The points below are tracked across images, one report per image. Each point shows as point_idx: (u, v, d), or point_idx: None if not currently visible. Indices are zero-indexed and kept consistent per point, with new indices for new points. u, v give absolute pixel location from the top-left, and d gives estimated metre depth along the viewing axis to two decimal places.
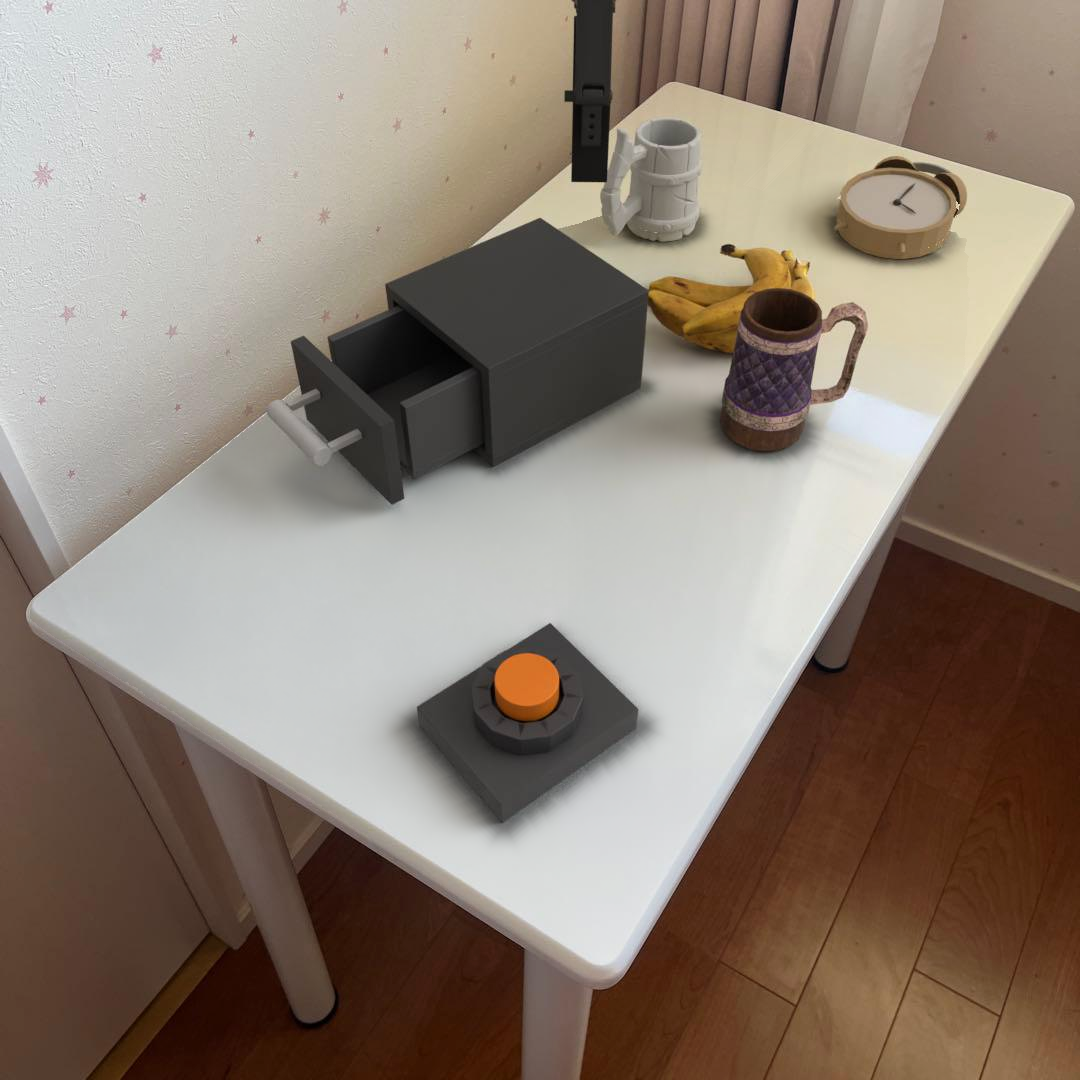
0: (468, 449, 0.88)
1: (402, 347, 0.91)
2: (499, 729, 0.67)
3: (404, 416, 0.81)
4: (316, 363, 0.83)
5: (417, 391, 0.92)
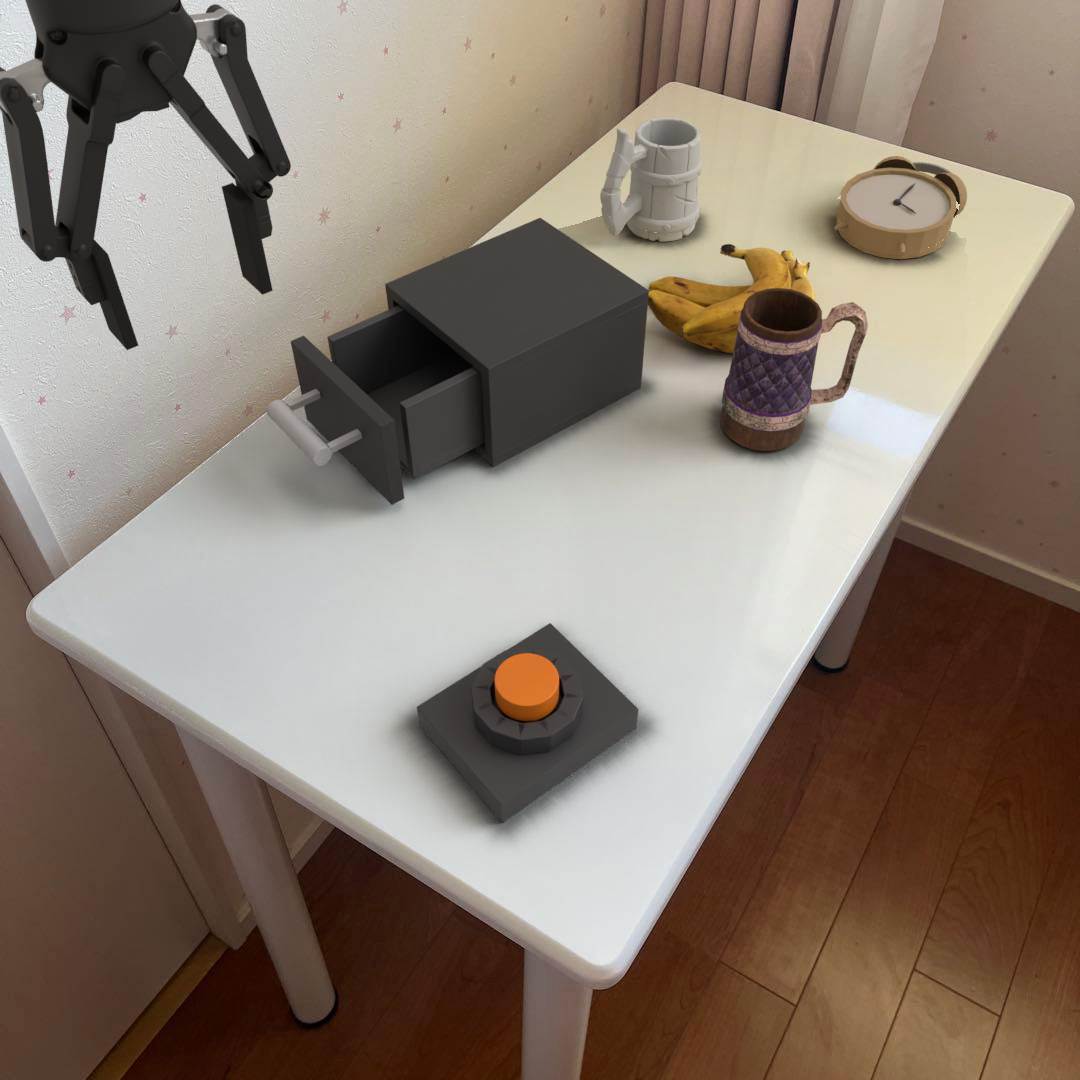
0: (468, 449, 0.88)
1: (402, 347, 0.91)
2: (499, 729, 0.67)
3: (404, 416, 0.81)
4: (316, 363, 0.83)
5: (417, 391, 0.92)
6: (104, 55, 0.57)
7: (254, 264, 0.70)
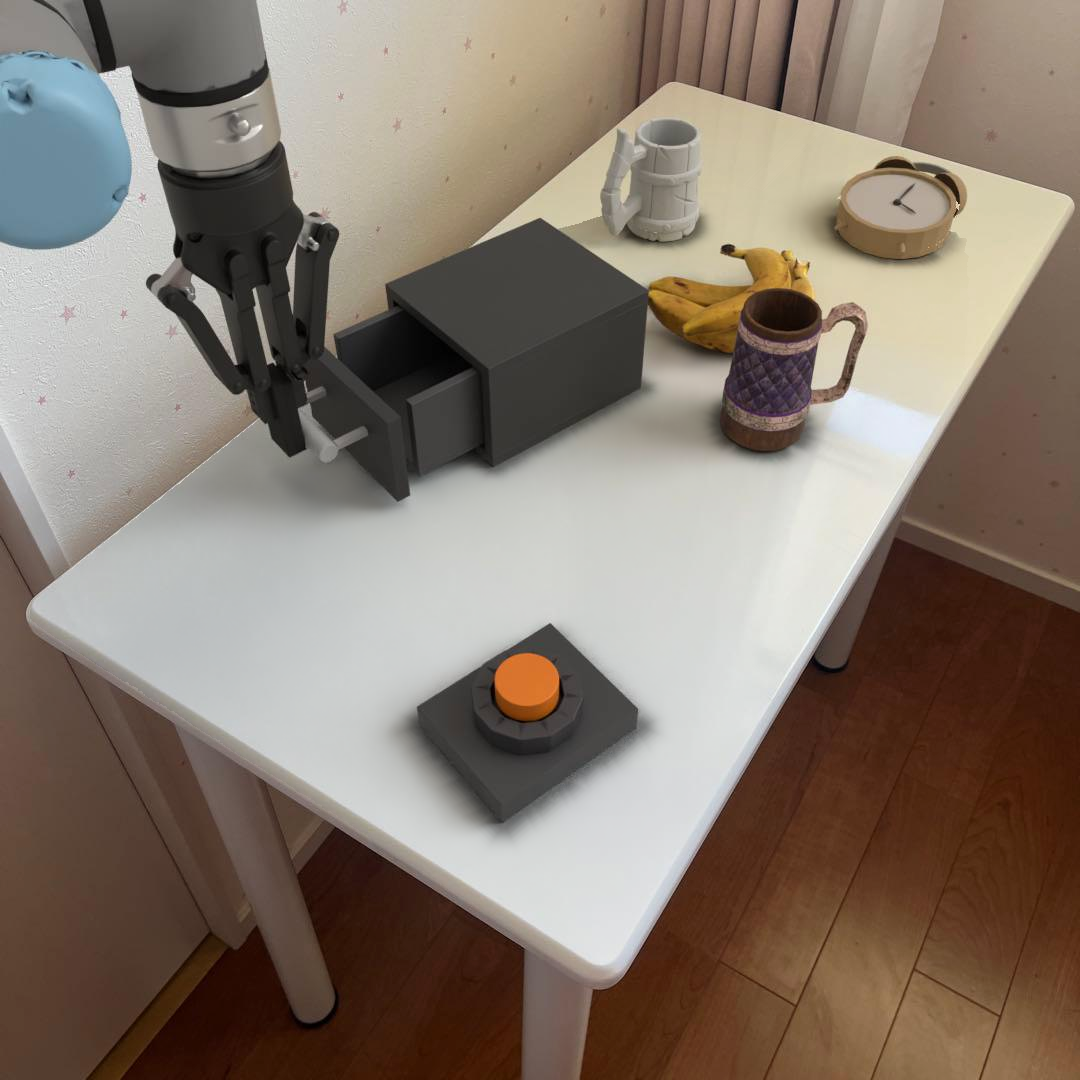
0: (473, 446, 0.88)
1: (408, 345, 0.91)
2: (499, 729, 0.67)
3: (410, 413, 0.81)
4: (322, 360, 0.84)
5: (422, 388, 0.92)
6: (230, 246, 0.68)
7: (291, 430, 0.80)
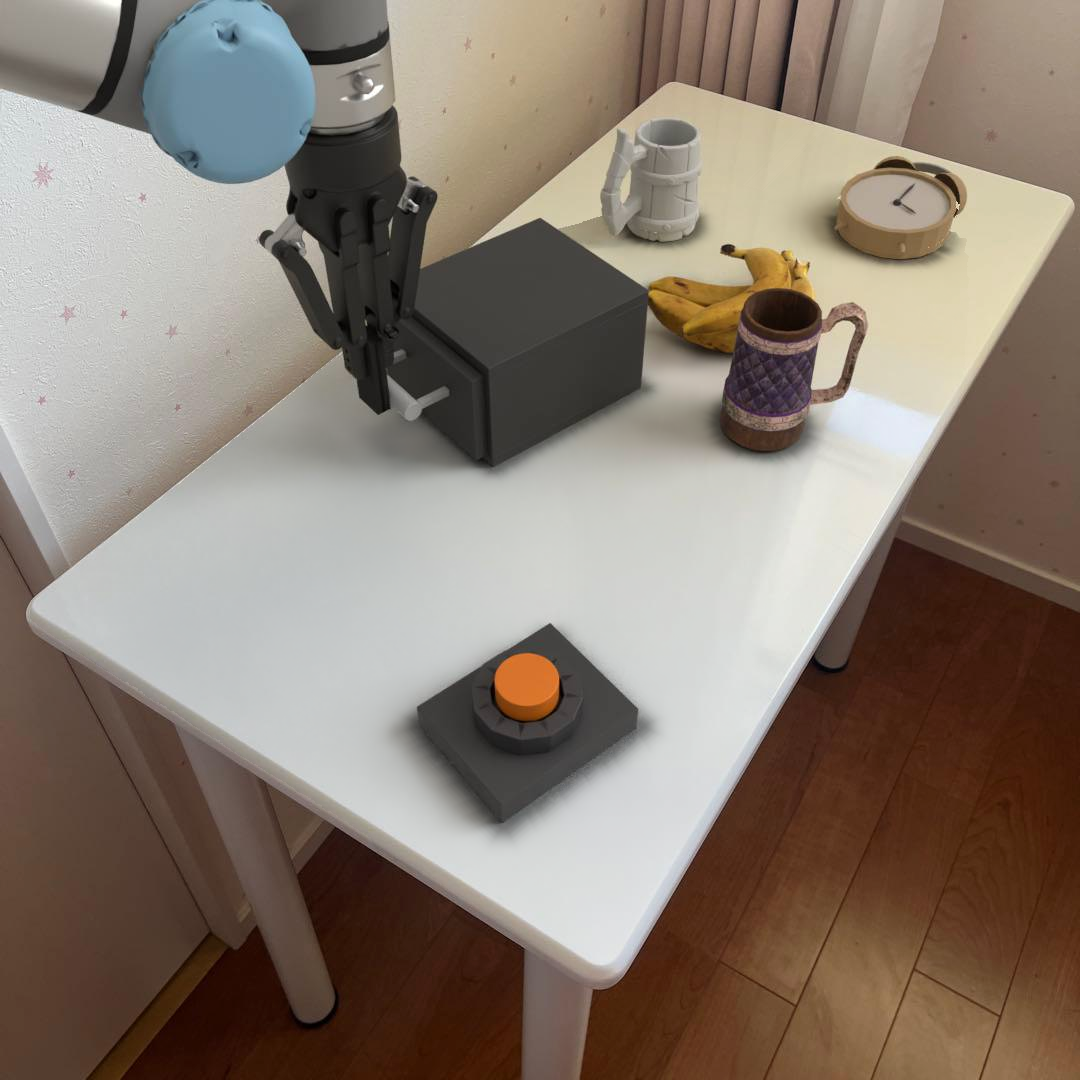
0: None
1: None
2: (499, 729, 0.67)
3: None
4: (404, 323, 0.87)
5: None
6: (340, 204, 0.72)
7: (378, 389, 0.84)
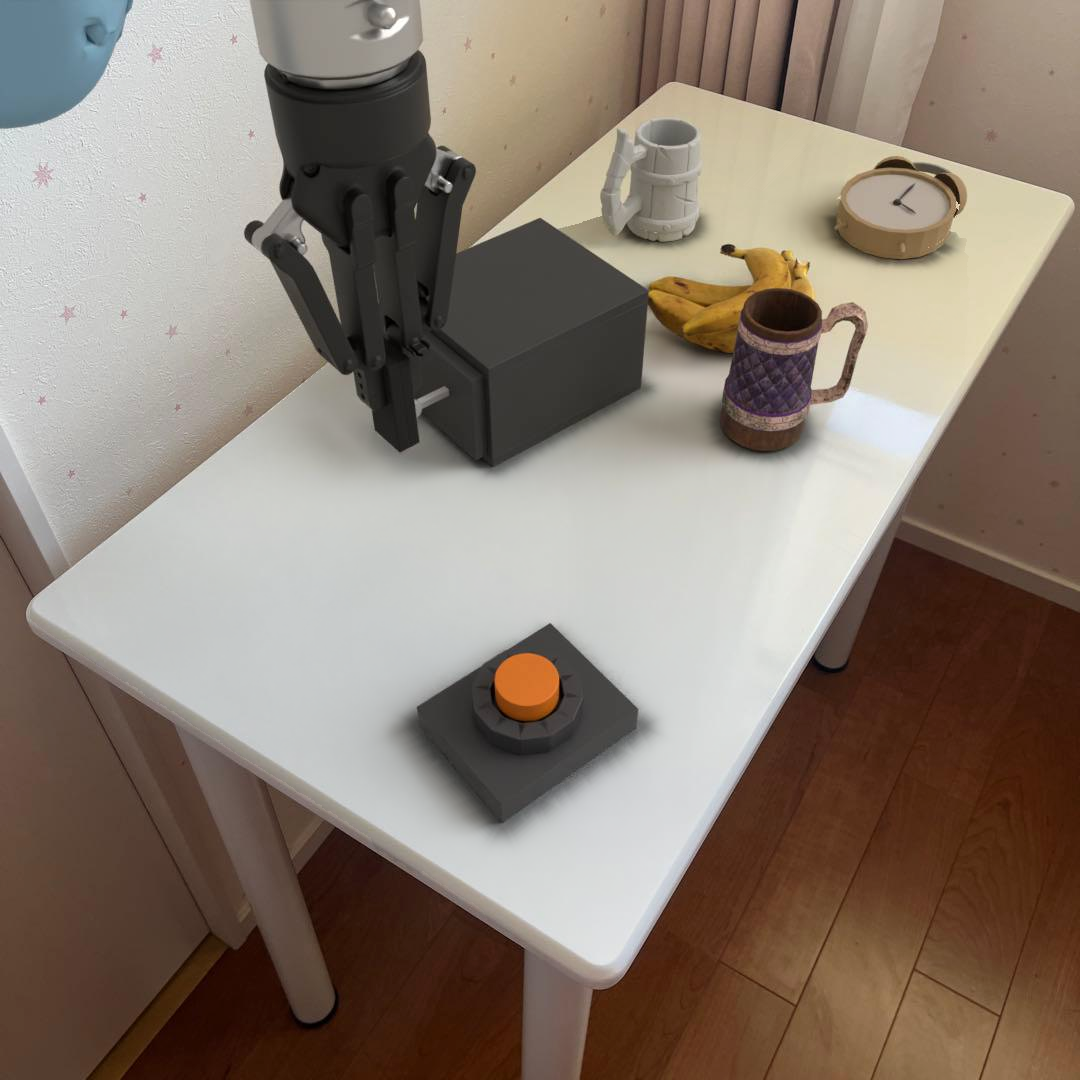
0: None
1: None
2: (499, 729, 0.67)
3: None
4: None
5: None
6: (351, 184, 0.54)
7: (404, 418, 0.66)
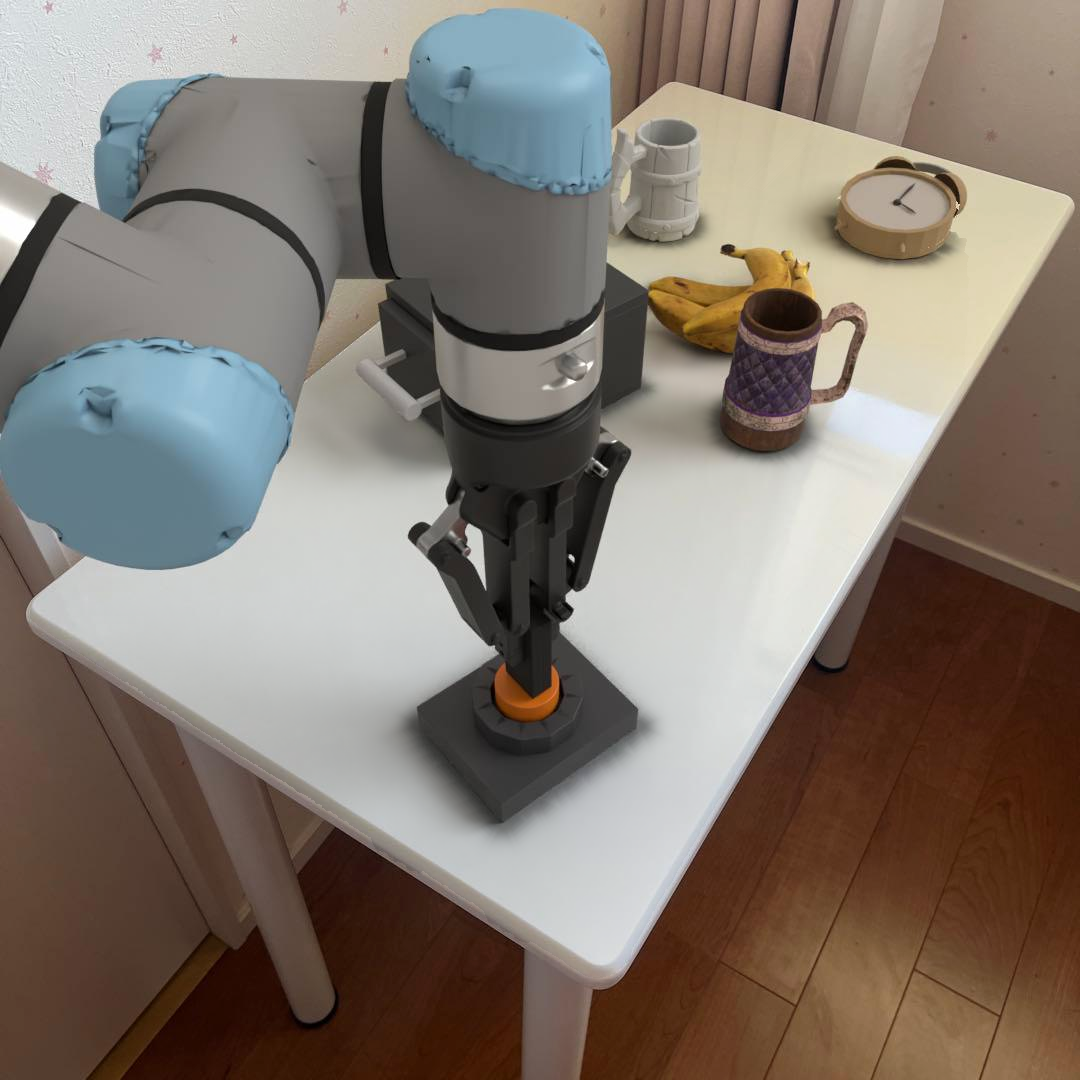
0: None
1: None
2: (499, 729, 0.67)
3: None
4: (404, 323, 0.87)
5: None
6: (517, 489, 0.54)
7: (539, 669, 0.66)
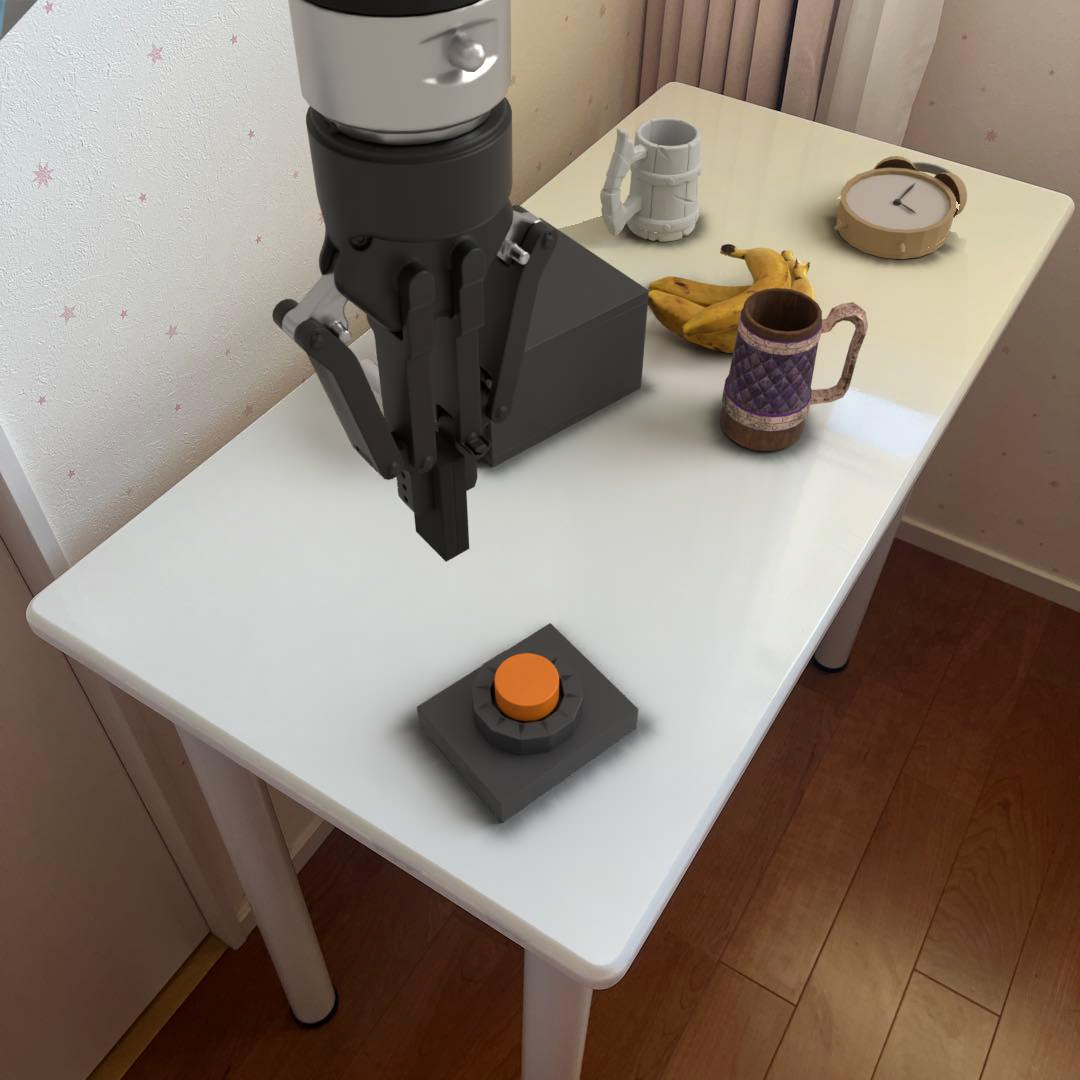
0: None
1: None
2: (499, 729, 0.67)
3: None
4: None
5: None
6: (409, 257, 0.43)
7: (453, 523, 0.55)
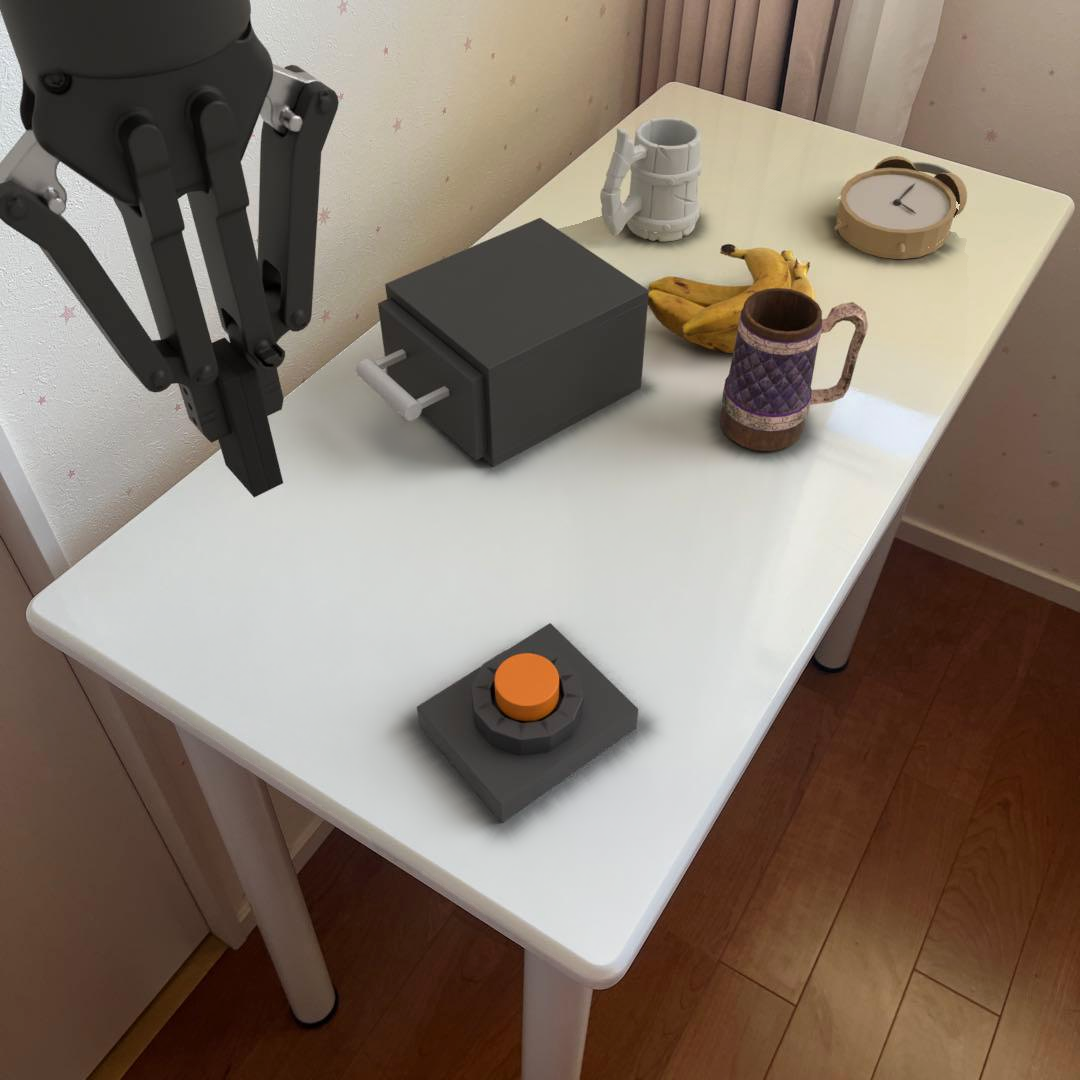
0: None
1: None
2: (499, 729, 0.67)
3: None
4: (404, 323, 0.87)
5: None
6: (131, 109, 0.36)
7: (257, 452, 0.48)
